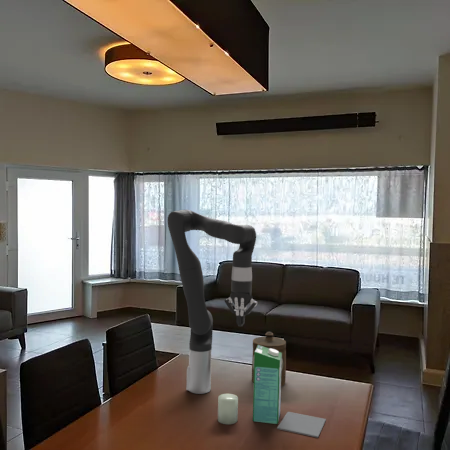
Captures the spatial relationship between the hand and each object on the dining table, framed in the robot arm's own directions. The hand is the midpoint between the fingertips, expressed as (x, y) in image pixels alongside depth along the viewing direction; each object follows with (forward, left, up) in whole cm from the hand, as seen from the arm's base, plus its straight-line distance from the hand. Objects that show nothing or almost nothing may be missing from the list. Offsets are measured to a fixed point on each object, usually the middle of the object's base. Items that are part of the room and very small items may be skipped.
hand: (240, 325), depth 167 cm
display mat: (+24, 0, -32) cm, 40 cm away
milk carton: (+11, 0, -32) cm, 34 cm away
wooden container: (+1, +34, -32) cm, 47 cm away
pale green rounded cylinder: (-1, -8, -32) cm, 33 cm away
